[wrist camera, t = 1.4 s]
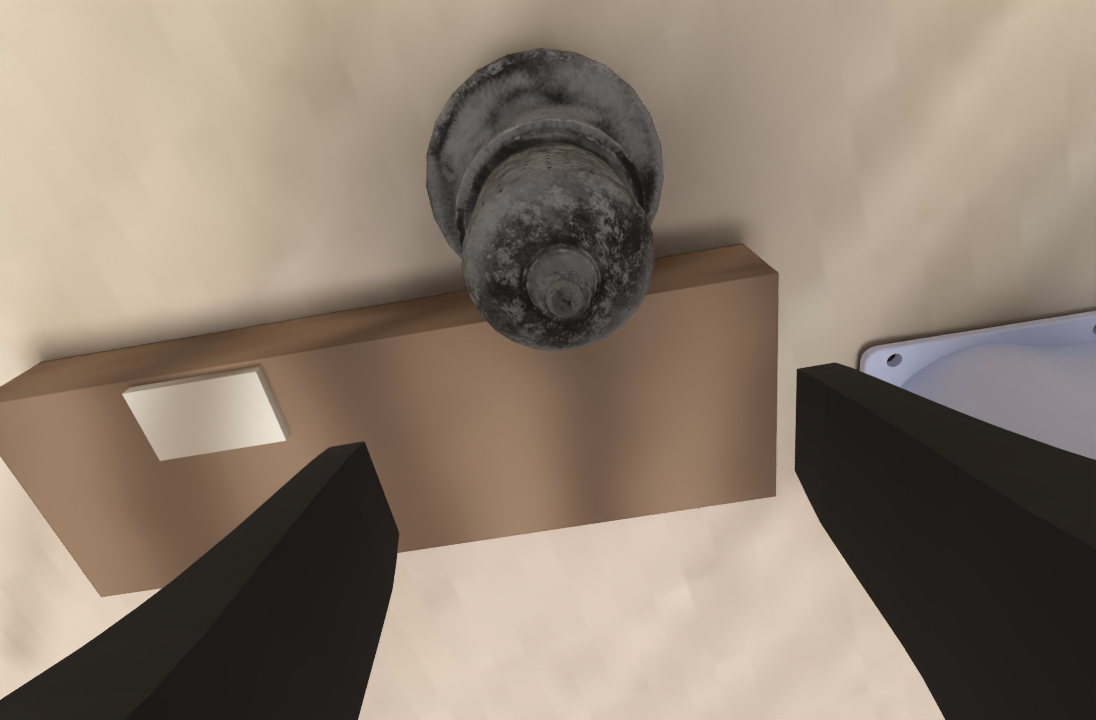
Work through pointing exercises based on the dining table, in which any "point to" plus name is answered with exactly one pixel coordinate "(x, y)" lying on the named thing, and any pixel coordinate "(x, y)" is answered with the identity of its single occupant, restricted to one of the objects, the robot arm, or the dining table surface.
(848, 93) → the dining table surface
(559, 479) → the walnut fence board
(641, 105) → the salt shaker
